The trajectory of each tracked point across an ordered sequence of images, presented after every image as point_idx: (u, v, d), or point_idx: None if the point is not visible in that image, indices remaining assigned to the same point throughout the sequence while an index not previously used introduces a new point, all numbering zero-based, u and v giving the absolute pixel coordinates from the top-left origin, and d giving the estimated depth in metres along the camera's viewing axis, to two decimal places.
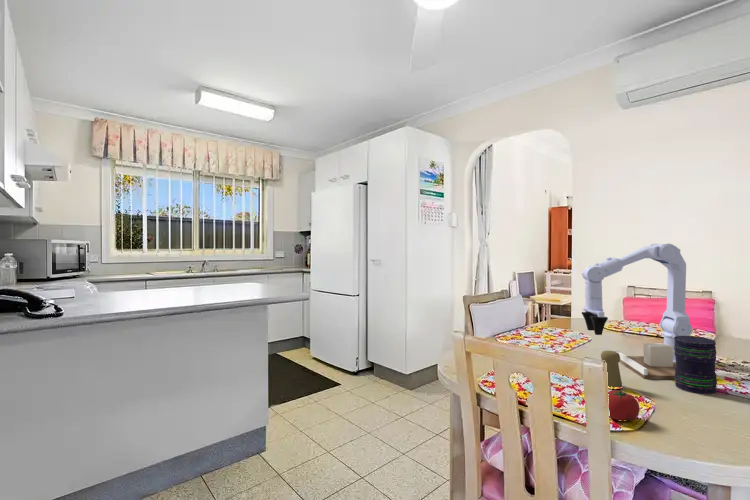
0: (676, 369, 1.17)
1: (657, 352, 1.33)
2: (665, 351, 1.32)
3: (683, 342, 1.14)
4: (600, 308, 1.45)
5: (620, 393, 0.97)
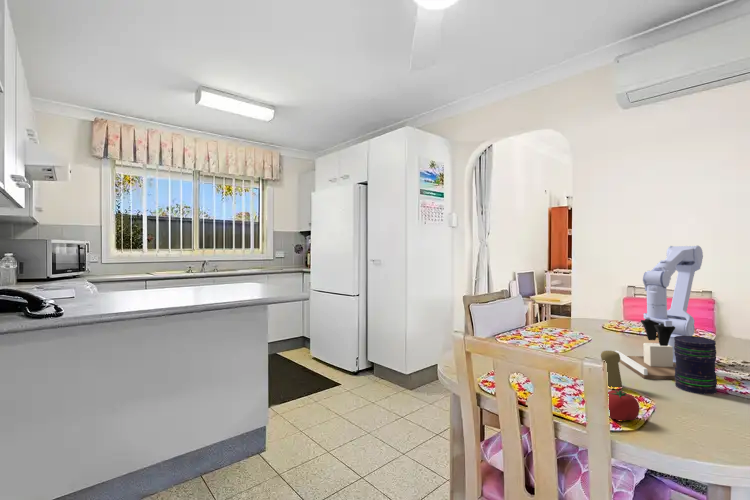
0: (676, 369, 1.17)
1: (657, 352, 1.33)
2: (665, 351, 1.32)
3: (683, 342, 1.14)
4: (665, 316, 1.32)
5: (620, 393, 0.97)
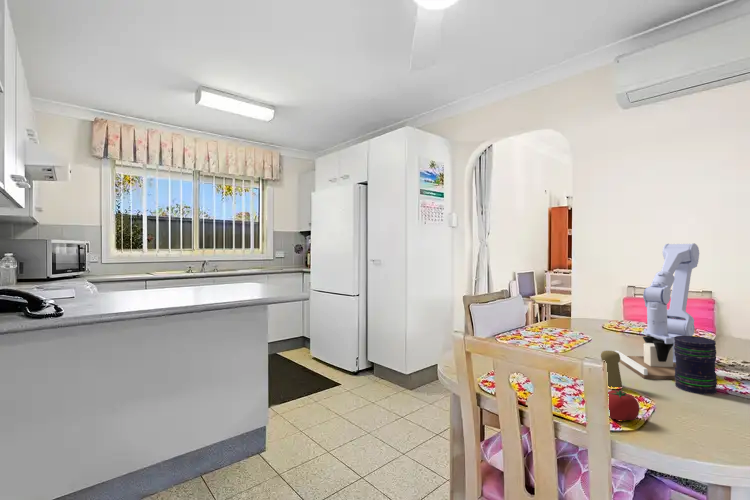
0: (676, 369, 1.17)
1: None
2: None
3: (683, 342, 1.14)
4: (665, 333, 1.32)
5: (620, 393, 0.97)
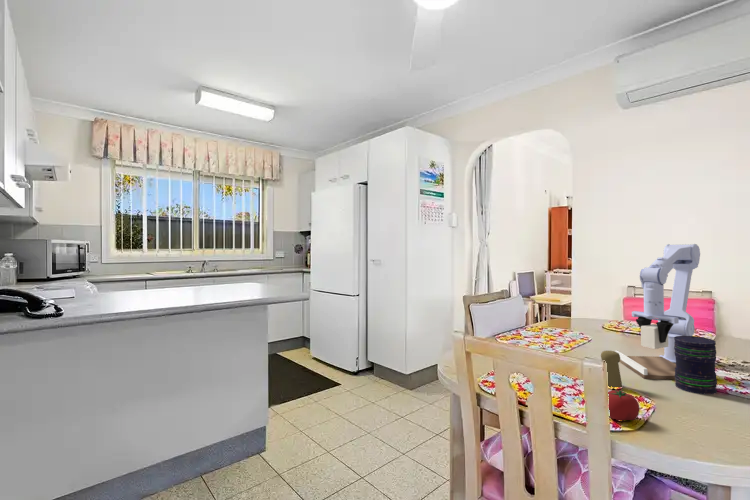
0: (676, 369, 1.17)
1: (658, 334, 1.30)
2: None
3: (683, 342, 1.14)
4: (663, 313, 1.31)
5: (620, 393, 0.97)
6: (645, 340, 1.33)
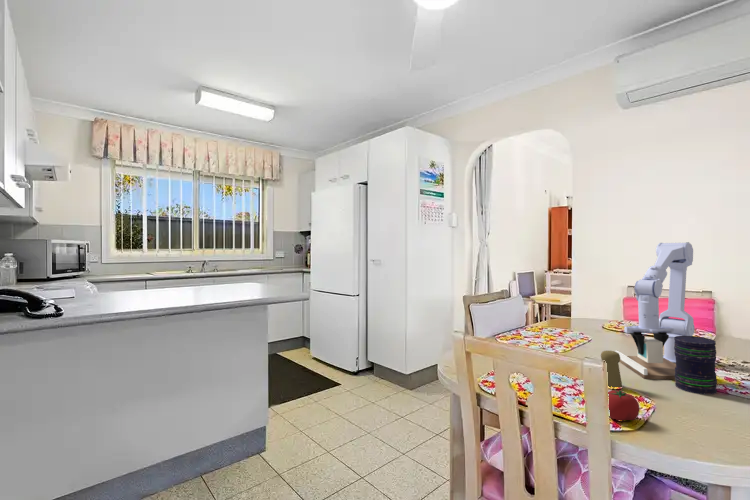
0: (676, 369, 1.17)
1: None
2: None
3: (683, 342, 1.14)
4: None
5: (620, 393, 0.97)
6: (652, 356, 1.27)
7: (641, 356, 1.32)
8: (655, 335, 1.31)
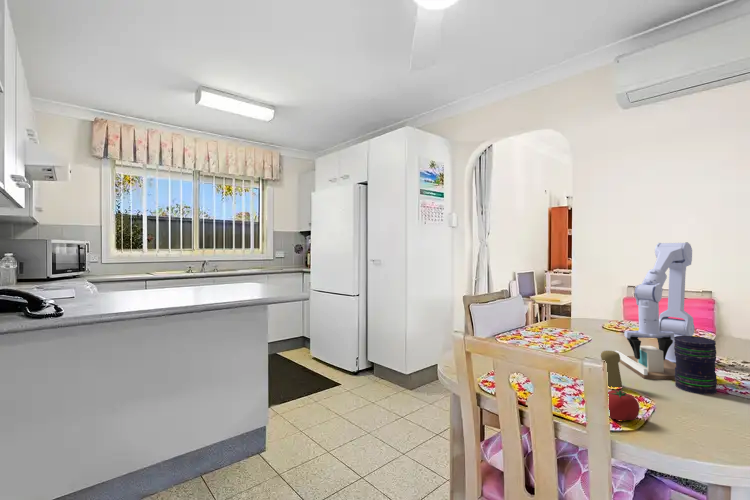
0: (676, 369, 1.17)
1: None
2: None
3: (683, 342, 1.14)
4: None
5: (620, 393, 0.97)
6: (653, 365, 1.27)
7: (642, 365, 1.32)
8: (659, 340, 1.31)
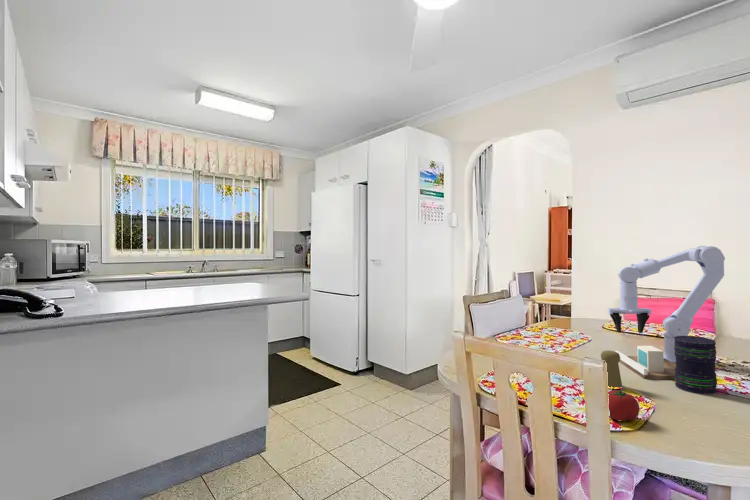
0: (676, 369, 1.17)
1: None
2: None
3: (683, 342, 1.14)
4: None
5: (620, 393, 0.97)
6: (653, 365, 1.27)
7: (642, 365, 1.32)
8: (638, 316, 1.49)
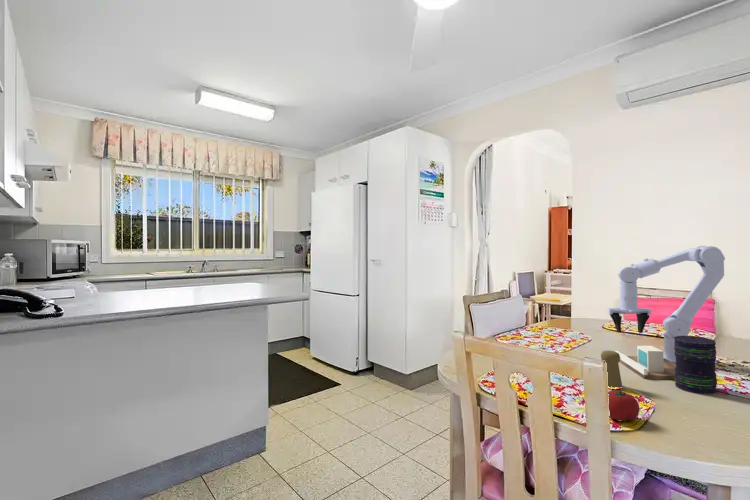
0: (676, 369, 1.17)
1: None
2: None
3: (683, 342, 1.14)
4: None
5: (620, 393, 0.97)
6: (653, 365, 1.27)
7: (642, 365, 1.32)
8: (638, 316, 1.49)
